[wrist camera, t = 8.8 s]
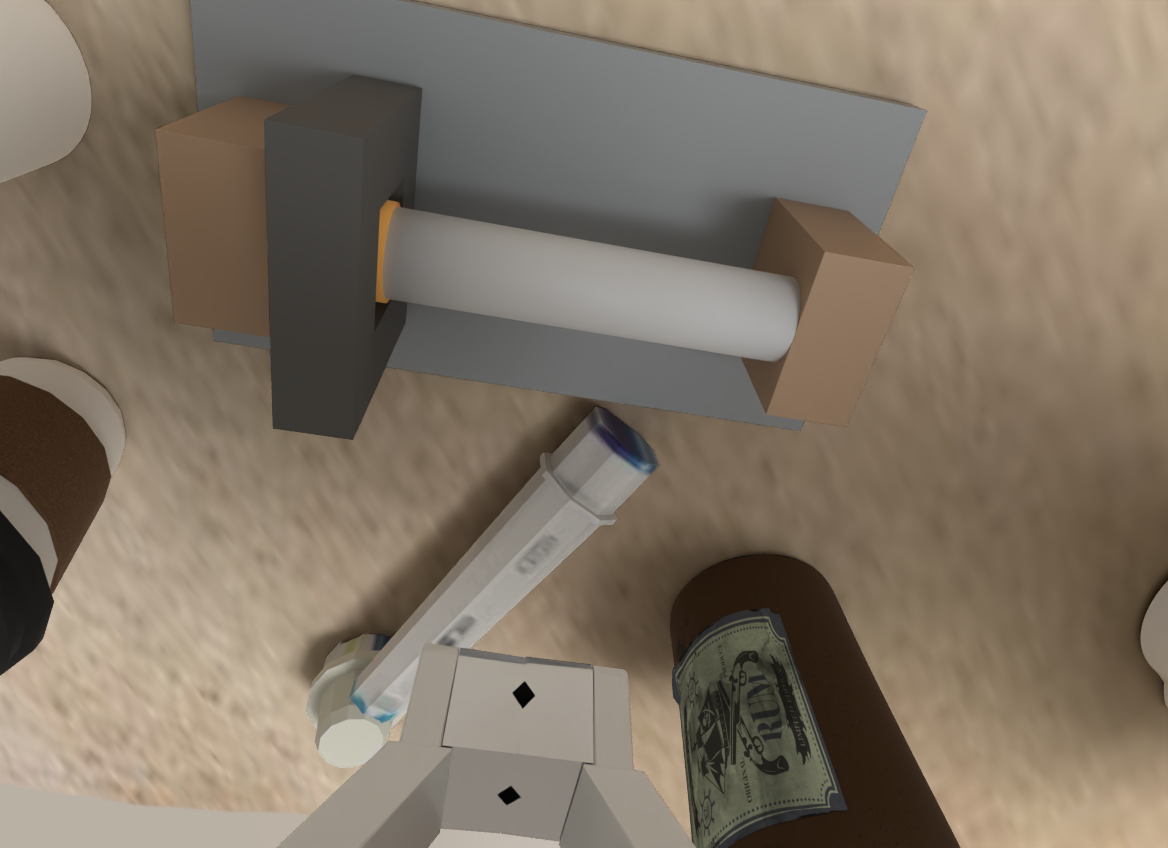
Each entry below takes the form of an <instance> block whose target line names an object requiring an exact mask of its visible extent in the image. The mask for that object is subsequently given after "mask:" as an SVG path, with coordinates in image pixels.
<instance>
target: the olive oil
mask: <svg viewBox="0 0 1168 848" xmlns="http://www.w3.org/2000/svg"><path fill="white" fill-rule="evenodd" d="M670 632H671V641H672V649H673V657H674V666H675V667H673V671H674V673H673V671H672V673H673V674H672V675H673V676H672V690H673V698H674V699H675V700H676V702H677V703H678V705H679V708H680V718H681V728H682V738H683V749H684V759H685V769H686V779H687V790H688V800H689V812H690V823H691V834H692V842H693V844H694V845H695V847H696V848H960V846H959V844H958V842H957V840H956V838H955V836H954V834H953V832H952V830H951V828H950V826H949V824H948V822H947V820H946V818H945V816H944V814H943V812H942V811H941V809H940V807H939V805H938V803H937V801H936V799H935V797H934V795H933V793H932V791H931V789H930V787H929V785H928V783H927V781H926V779H925V777H924V775H923V773H922V771H921V769H920V768H919V766H918V764H917V762H916V760H915V758H914V756H913V754H912V752H911V750H910V748H909V746H908V744H907V742H906V740H905V738H904V736H903V734H902V732H901V730H900V728H899V726H898V724H897V722H896V720H895V718H894V716H893V714H892V712H891V710H890V708H889V706H888V704H887V702H886V700H885V698H884V696H883V694H882V692H881V690H880V688H879V686H878V684H877V682H876V680H875V678H874V676H873V674H872V672H871V670H870V668H869V666H868V664H867V662H866V660H865V657H864V655H863V653H862V651H861V649H860V647H859V645H858V643H857V641H856V638H855V636H854V634H853V632H852V630H851V628H850V626H849V624H848V621H847V619H846V617H845V615H844V613H843V611H842V609H841V607H840V604H839V602H838V600H837V598H836V596H835V594H834V592H833V590H832V588H831V587H830V585H829V583H828V582H827V581H826V579H825V578H824V577H823V576H822V575H821V574H820V573H819V572H817V571H816V570H815V569H813V568H812V567H810V566H809V565H807V564H805V563H803V562H800V561H798V560H795V559H791V558H787V557H783V556H776V555H752V556H744V557H739V558H735V559H731V560H728V561H725V562H722V563H720V564H718V565H715V566H713V567H711V568H709V569H708V570H706V571H704V572H703V573H701V574H700V575H698V576H697V577H696V578H694V579H693V580H692V581H691V582H690V583H689V584H688V585H687V586H686V587H685V588H684V589H683V590H682V592H681V593H680V595H679V596H678V598H677V599H676V601H675V603H674V606H673V609H672V612H671V618H670ZM674 669H675V670H674Z"/></svg>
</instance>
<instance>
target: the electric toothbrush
mask: <svg viewBox="0 0 1168 848" xmlns="http://www.w3.org/2000/svg"><path fill="white" fill-rule="evenodd" d="M540 465H541V467H540V468H539V470H538V471H537V472H536V473H535V474H534V475H533V476H532V478H531V479H530V480H529V481H528V482H527V483H526V485H525V486H524V487H523V488H522V489H521V490H520V491H519V493H518V494H517V495H516V496H515V497H514V498H513V499H512V501H511V502H510V503H509V504H508V505H507V506H506V507H505V509H504V510H503V511H502V512H501V513H500V514H499V515H498V517H497V518H496V519H495V520H494V521H493V522H492V524H491V525H490V526H489V527H488V528H487V529H486V530H485V532H484V533H483V534H482V535H481V536H480V537H479V538H478V540H477V541H476V542H475V543H474V544H473V545H472V546H471V548H470V549H469V550H468V551H467V552H466V553H465V554H464V556H463V557H462V558H461V559H460V560H459V561H458V562H457V564H456V565H455V566H454V567H453V568H452V569H451V571H450V572H449V573H448V574H447V575H446V576H445V577H444V579H443V580H442V581H441V582H440V583H439V584H438V585H437V587H436V588H435V589H434V590H433V591H432V592H431V593H430V595H429V596H428V597H427V598H426V599H425V600H424V601H423V603H422V604H421V605H420V606H419V607H418V608H417V609H416V611H415V612H414V613H413V614H412V615H411V616H410V618H409V619H408V620H407V621H406V622H405V623H404V624H403V626H402V627H401V628H400V629H399V630H398V631H397V632H396V634H395V635H394V636H393V637H392V638H389V637H387V636H385V635H374V634H362V635H361V636H359V637H357V638H355V639H352V640H350V641H348V642H345V643H343V642H342V641H340V642H339V643H338V644H337V645H336V647H335V648H334V649H333V650H332V651H331V652H330V653H329V654H328V656H327V657H326V660H325V663H324V667H323V670H322V671H321V672H320V673H319V674H318V675H317V676H316V677H315V678H314V680H313V681H312V684H311V687H310V692H309V698H308V704H307V710H306V712H307V714H308V715H309V717H310V719H311V721H312V722H313V724H314V726H315V727H316V729H317V732H316V739H315V743H316V746H317V749H318V751H319V753H320V755H321V756H322V758H323V760H324V761H325V762H327V763H329V764H331V765H333V766H335V767H338V768H351V767H357V766H359V765H362V764H364V763H366V762H367V761H368V760H369V759H370V758H371V757H372V756H373V755H375V754H376V753H377V752H378V751H379V750H380V749H381V748H382V747H383V746H384V745H385V744H386V742H387V741H388V737H389V734H390V730H391V729H392V727H393V726H394V725H395V724H396V723H397V722H398V721H399V720H400V719H401V718H402V717H403V716H404V715H405V714H406V713H407V709H408V704H409V700H410V696H411V692H412V688H413V684H414V680H415V676H416V671H417V667H418V663H419V659H420V655H421V651H422V649H423V647H424V644H425V643H432V644H439V645H445V646H452V647H459V651H460V647H461V648H467V649H470V648H471V647H472V646H473V645H474V644H475V643H476V642H477V641H478V640H479V639H480V638H481V637H482V636H484V635H485V634H486V633H487V632H488V631H489V630H490V629H491V628H492V627H493V626H494V625H495V624H496V623H497V622H498V621H500V620H501V619H502V618H503V617H504V616H505V615H506V614H507V613H508V612H509V611H510V610H511V609H512V608H513V607H514V606H516V605H517V604H518V603H519V602H520V601H521V600H522V599H523V598H524V597H525V596H526V595H527V594H528V593H529V592H530V591H531V590H533V589H534V588H535V587H536V586H537V585H538V584H539V583H540V582H541V581H542V580H543V579H544V578H545V577H546V576H547V575H549V574H550V573H551V572H552V571H553V570H554V569H555V568H556V567H557V566H558V565H559V564H560V563H561V562H562V561H563V560H565V559H566V558H567V557H568V556H569V555H570V554H571V553H572V552H573V551H574V550H575V549H576V548H577V547H578V546H579V545H581V544H582V543H583V542H584V541H585V540H586V539H587V538H588V537H589V536H590V535H591V534H592V533H593V532H594V531H595V530H597V529H598V528H599V527H600V526H601V525H613V524H614V523H615V522H616V521H617V516H616V513H615V511H616V510H617V509H618V508H619V507H620V506H621V505H622V504H623V503H624V502H625V501H626V500H627V499H628V497H629V496H630V495H631V494H632V493H633V492H634V491H635V490H636V489H637V488H638V487H639V486H640V485H641V484H642V483H643V482H644V481H645V480H646V479H647V478H648V477H649V476H650V475H651V474H652V473H653V472H654V471H655V470H656V469H657V468H658V466H659V462H658V460H657V458H656V455H655V453H654V451H653V449H652V448H651V447H650V446H649V445H648V444H647V443H646V442H645V440H644V439H643V438H642V437H641V436H640V435H639V434H638V433H637V432H635V431H634V430H633V429H631V428H630V427H629V426H628V425H626V424H625V423H624V422H622V421H621V420H620V419H618V418H617V417H616V416H614V415H613V414H612V413H611V412H609V411H608V410H607V409H604V408H600V407H595V408H594V409H593V410H592V411H591V412H590V413H589V414H588V416H587V417H586V418H585V419H584V420H583V421H582V422H581V423H580V424H579V425H578V427H577V428H576V429H575V430H574V431H573V432H572V433H571V434H570V435H569V436H568V437H567V439H566V440H565V441H564V442H563V443H562V444H561V445H560V446H559V447H558V448H557V450H556V451H555V452H554V453H548V452H543V454H542V455H541V456H540Z"/></svg>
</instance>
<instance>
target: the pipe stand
mask: <svg viewBox="0 0 1168 848" xmlns="http://www.w3.org/2000/svg"><path fill="white" fill-rule="evenodd" d="M190 9H191V23H192V37H193V51H194V65H195V79H196V93H197V107H198V112H197V113H195V114H192V115H190V116H187V117H185V118H182V119H179V120H177V121H174V122H172V123H169V124H167V125H164V126H162V127H159V128H157V129H155V135H156V145H157V155H158V165H159V175H160V185H161V195H162V205H163V215H164V225H165V235H166V245H167V255H168V265H169V275H170V285H171V295H172V305H173V315H174V323H180V324H187V325H193V326H200V327H206V328H213V332H214V341H218V342H224V343H231V344H237V345H244V346H250V347H257V348H263V349H270V350H271V346H270V312H269V278H268V243H267V209H266V175H265V141H264V119H266V118H268V117H270V116H272V115H274V114H276V113H278V112H280V111H282V110H284V109H286V108H288V107H290V106H292V105H294V104H296V103H298V102H299V101H301V100H303V99H305V98H307V97H309V96H311V95H313V94H315V93H317V92H319V91H321V90H323V89H325V88H327V87H329V86H331V85H333V84H335V83H337V82H339V81H341V80H343V79H345V78H347V77H349V76H351V75H358V76H363V77H368V78H373V79H379V80H384V81H389V82H394V83H399V84H404V85H409V86H414V87H419V88H422V102H421V116H420V130H419V144H418V158H417V172H416V186H415V200H414V210H413V209H408V208H402V207H400V204H399V202H396V201H390V200H387V201H386V203H385V204H384V205H383V206H382V208H381V209H380V220H379V241H378V262H377V282H376V302H381V303H387V302H388V301H389V300H390V299H391V300H397V301H403V302H407V313H406V323H405V325H404V327H403V330H402V332H401V334H400V336H399V339H398V341H397V343H396V345H395V347H394V350H393V352H392V354H391V356H390V359H389V361H388V363H387V365H386V367H387V368H394V369H400V370H407V371H413V372H420V373H426V374H433V375H439V376H446V377H452V378H459V379H465V380H472V381H478V382H485V383H491V384H498V385H504V386H511V387H517V388H524V389H530V390H537V391H543V392H550V393H556V394H563V395H569V396H576V397H582V398H589V399H595V400H602V401H608V402H615V403H621V404H628V405H634V406H641V407H647V408H654V409H660V410H667V411H673V412H680V413H686V414H693V415H699V416H706V417H712V418H719V419H725V420H732V421H738V422H745V423H751V424H758V425H764V426H771V427H777V428H784V429H790V430H797V431H801V430H802V427H803V424H804V422H805V421H811V422H817V423H824V424H830V425H836V426H843V427H847V424H848V422H849V420H850V417H851V415H852V413H853V410H854V408H855V406H856V403H857V401H858V399H859V396H860V394H861V392H862V389H863V387H864V385H865V382H866V380H867V378H868V375H869V373H870V371H871V368H872V366H873V364H874V361H875V359H876V357H877V354H878V352H879V350H880V347H881V345H882V343H883V340H884V338H885V336H886V333H887V331H888V329H889V326H890V324H891V322H892V319H893V317H894V315H895V312H896V310H897V308H898V305H899V303H900V301H901V298H902V296H903V294H904V291H905V289H906V287H907V284H908V282H909V280H910V277H911V275H912V273H913V270H914V267H913V266H912V265H911V264H909V263H908V262H907V261H906V260H905V259H904V258H902V257H901V256H900V255H899V254H898V253H897V252H895V251H894V250H893V249H892V248H891V247H890V246H889V245H887V244H886V243H885V242H884V241H883V240H882V239H880V238H879V237H878V234H879V231H880V229H881V226H882V224H883V221H884V219H885V216H886V214H887V211H888V209H889V206H890V204H891V201H892V198H893V196H894V193H895V191H896V188H897V186H898V183H899V181H900V178H901V176H902V173H903V171H904V168H905V165H906V163H907V160H908V158H909V155H910V153H911V150H912V148H913V145H914V143H915V140H916V138H917V135H918V132H919V130H920V127H921V125H922V122H923V120H924V117H925V115H926V112H927V111H926V110H924V109H921V108H919V107H916V106H914V105H911V104H907V103H902V102H897V101H893V100H888V99H883V98H878V97H873V96H869V95H864V94H859V93H854V92H850V91H845V90H840V89H835V88H830V87H826V86H821V85H816V84H811V83H806V82H802V81H797V80H792V79H787V78H782V77H778V76H773V75H768V74H763V73H759V72H754V71H749V70H744V69H739V68H735V67H730V66H725V65H720V64H715V63H711V62H706V61H701V60H696V59H691V58H687V57H682V56H677V55H672V54H667V53H663V52H658V51H653V50H648V49H644V48H639V47H634V46H629V45H624V44H620V43H615V42H610V41H605V40H600V39H596V38H591V37H586V36H581V35H576V34H572V33H567V32H562V31H557V30H553V29H548V28H543V27H538V26H533V25H529V24H524V23H519V22H514V21H509V20H505V19H500V18H495V17H490V16H485V15H481V14H476V13H471V12H466V11H462V10H457V9H452V8H447V7H442V6H438V5H433V4H428V3H423V2H418V1H414V0H190Z"/></svg>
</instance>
